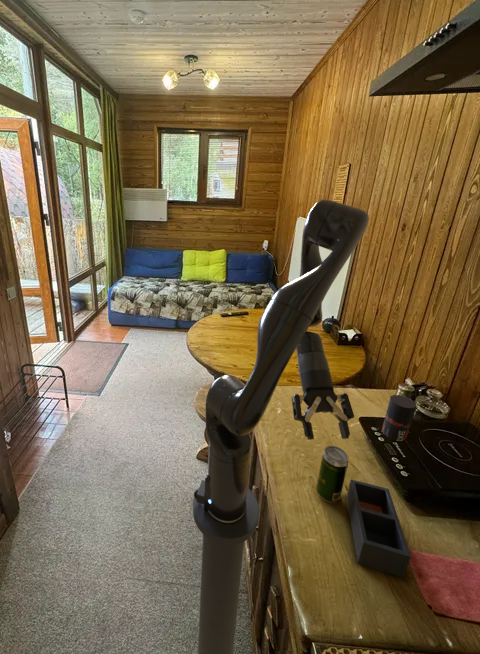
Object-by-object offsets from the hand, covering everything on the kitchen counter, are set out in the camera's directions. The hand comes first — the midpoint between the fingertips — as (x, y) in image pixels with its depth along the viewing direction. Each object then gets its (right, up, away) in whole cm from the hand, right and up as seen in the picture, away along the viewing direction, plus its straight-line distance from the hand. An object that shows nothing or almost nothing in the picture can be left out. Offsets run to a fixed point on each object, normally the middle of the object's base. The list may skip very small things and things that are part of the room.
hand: (328, 439), depth 73 cm
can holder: (+5, -16, -8) cm, 19 cm away
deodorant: (+25, -9, +16) cm, 31 cm away
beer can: (0, -14, 0) cm, 14 cm away
